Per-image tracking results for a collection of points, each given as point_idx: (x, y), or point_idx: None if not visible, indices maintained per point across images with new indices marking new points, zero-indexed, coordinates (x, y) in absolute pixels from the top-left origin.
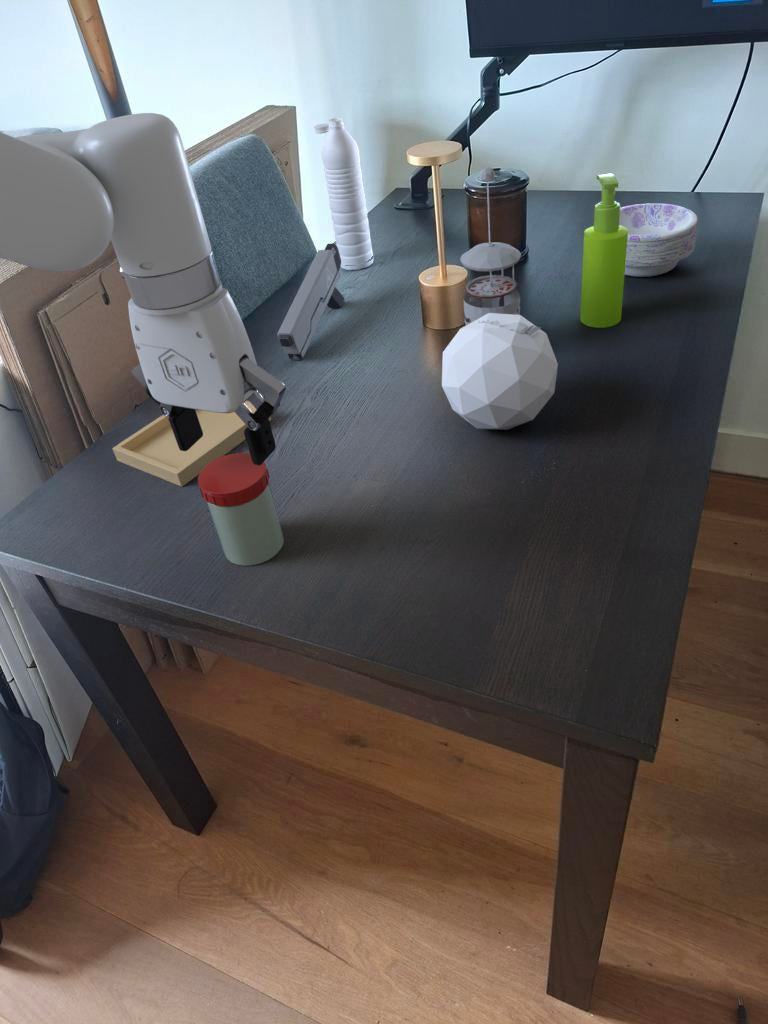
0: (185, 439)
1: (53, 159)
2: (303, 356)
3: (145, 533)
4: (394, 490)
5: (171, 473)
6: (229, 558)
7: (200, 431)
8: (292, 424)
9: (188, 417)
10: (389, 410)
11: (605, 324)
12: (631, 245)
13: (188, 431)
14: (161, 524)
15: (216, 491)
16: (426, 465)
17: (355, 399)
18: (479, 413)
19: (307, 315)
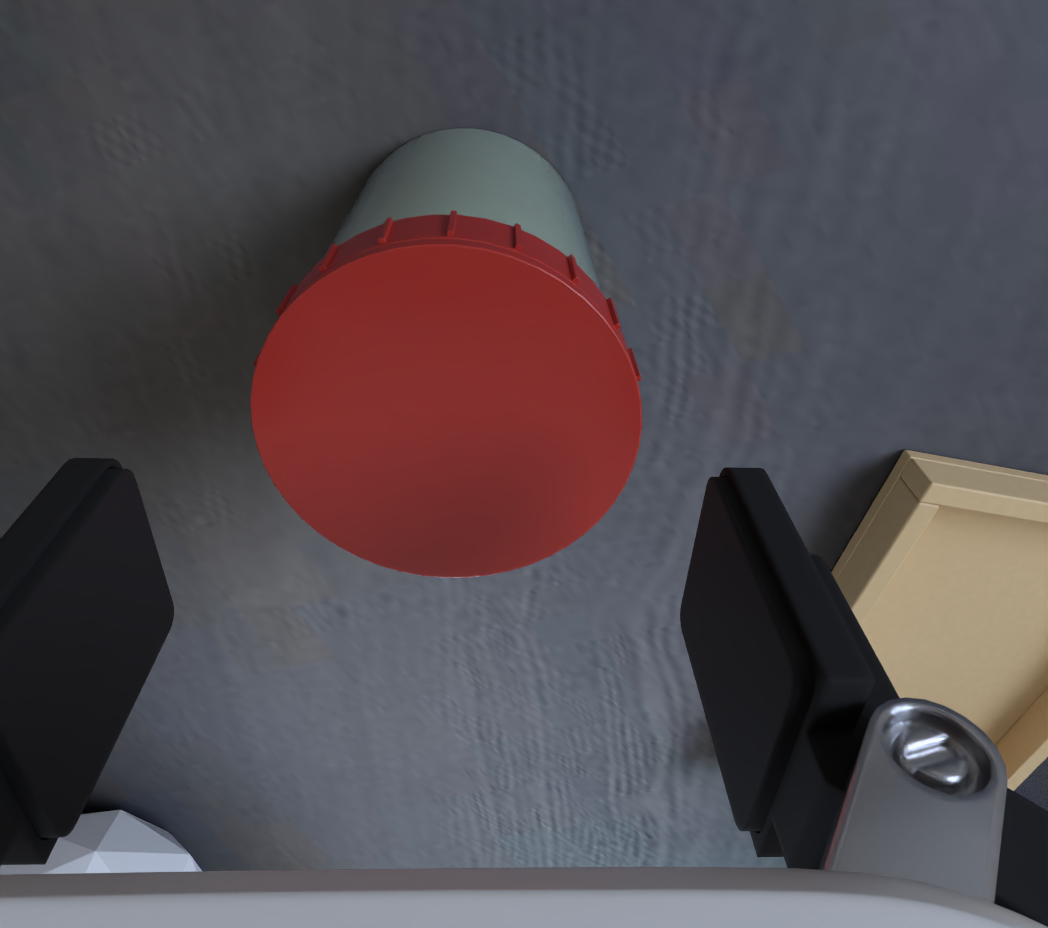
0: (724, 543)
1: None
2: None
3: (957, 188)
4: (184, 588)
5: (959, 483)
6: (503, 138)
7: (689, 635)
8: (656, 739)
9: (742, 719)
10: (414, 818)
11: None
12: None
13: (723, 609)
14: (906, 254)
15: (427, 265)
16: (172, 684)
17: (529, 834)
18: (30, 866)
19: None
